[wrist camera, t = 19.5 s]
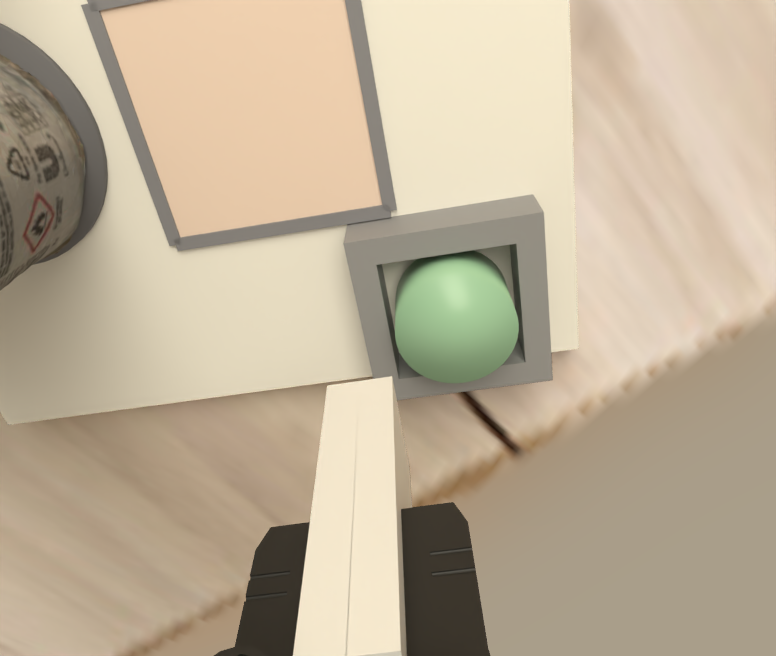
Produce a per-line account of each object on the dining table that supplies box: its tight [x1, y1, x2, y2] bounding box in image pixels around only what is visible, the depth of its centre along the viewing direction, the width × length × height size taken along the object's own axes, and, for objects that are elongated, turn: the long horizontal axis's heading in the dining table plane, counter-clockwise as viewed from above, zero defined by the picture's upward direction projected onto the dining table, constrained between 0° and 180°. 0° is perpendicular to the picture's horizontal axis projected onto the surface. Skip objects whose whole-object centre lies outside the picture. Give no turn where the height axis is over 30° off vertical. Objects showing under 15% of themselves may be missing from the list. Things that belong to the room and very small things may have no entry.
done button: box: [395, 250, 519, 383], centre depth 23 cm, size 4×4×3 cm
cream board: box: [0, 0, 579, 425], centre depth 23 cm, size 26×17×3 cm, turn 100°
